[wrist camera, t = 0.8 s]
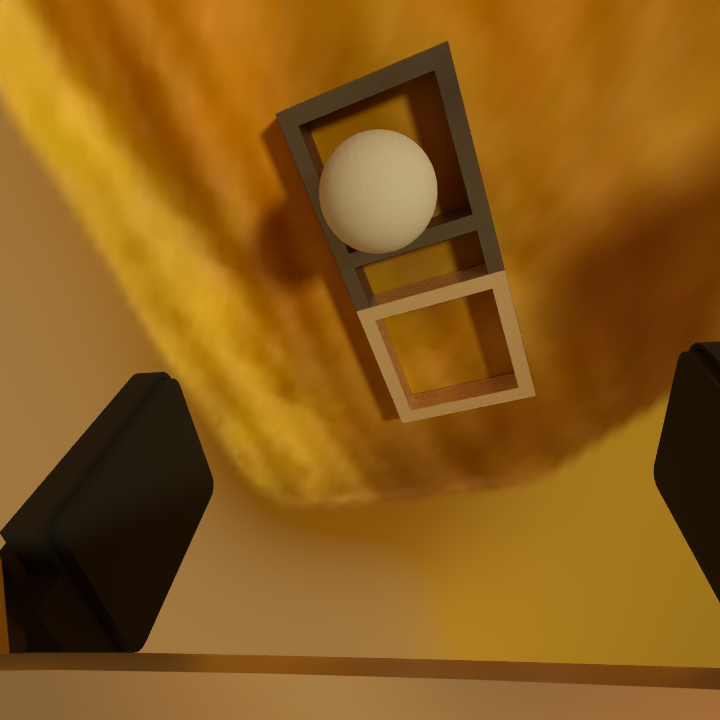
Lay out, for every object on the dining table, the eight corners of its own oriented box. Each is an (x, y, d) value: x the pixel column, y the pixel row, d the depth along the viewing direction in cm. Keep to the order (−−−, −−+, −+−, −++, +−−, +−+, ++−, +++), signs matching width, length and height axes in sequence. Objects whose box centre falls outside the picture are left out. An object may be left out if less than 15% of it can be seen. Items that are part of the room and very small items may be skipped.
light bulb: (453, 128, 30) (456, 166, 22) (420, 223, 34) (411, 287, 25) (357, 97, 30) (323, 122, 22) (332, 195, 33) (295, 250, 25)
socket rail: (447, 40, 28) (447, 41, 26) (531, 380, 39) (535, 395, 37) (284, 109, 31) (275, 114, 29) (404, 407, 42) (402, 423, 40)
